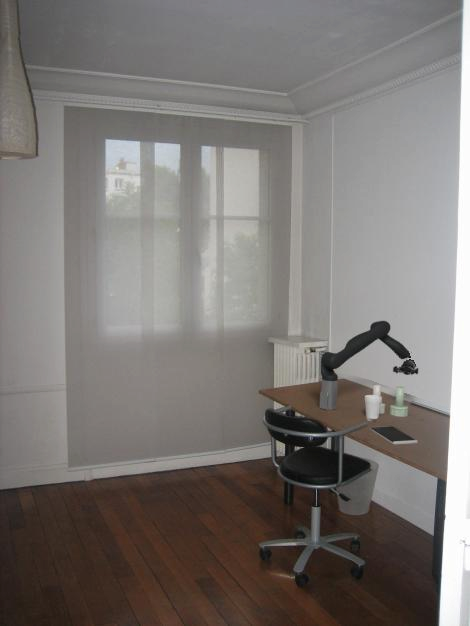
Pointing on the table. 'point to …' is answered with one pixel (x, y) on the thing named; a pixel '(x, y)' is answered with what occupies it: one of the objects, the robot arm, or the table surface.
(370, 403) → the foam cup
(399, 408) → the pale green pedestal post
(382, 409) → the white joystick
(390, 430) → the smartphone
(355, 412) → the table surface
